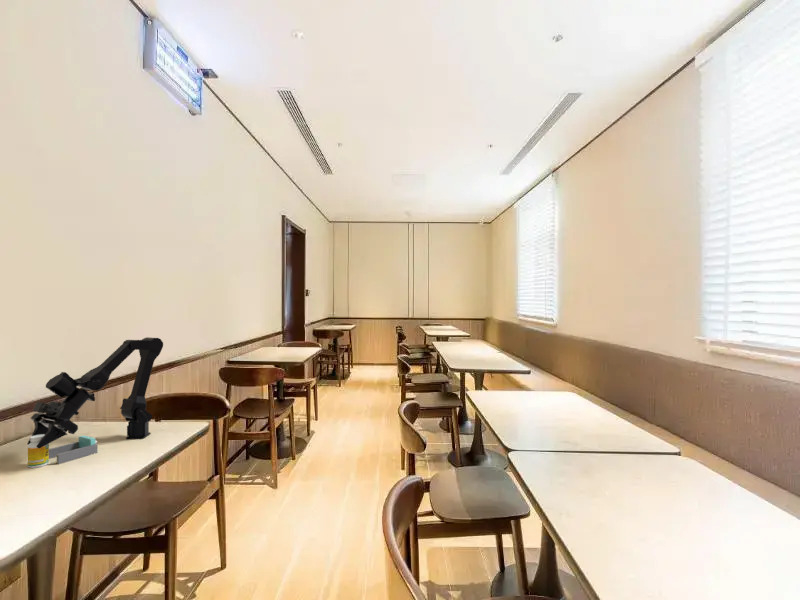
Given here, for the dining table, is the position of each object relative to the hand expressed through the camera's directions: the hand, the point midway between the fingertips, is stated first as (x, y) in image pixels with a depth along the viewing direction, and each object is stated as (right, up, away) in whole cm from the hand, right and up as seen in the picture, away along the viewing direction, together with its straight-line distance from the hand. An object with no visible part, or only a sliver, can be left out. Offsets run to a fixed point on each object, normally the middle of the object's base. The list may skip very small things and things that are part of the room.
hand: (33, 446), depth 142 cm
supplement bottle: (+1, -7, +1) cm, 7 cm away
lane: (+5, -7, +11) cm, 14 cm away
